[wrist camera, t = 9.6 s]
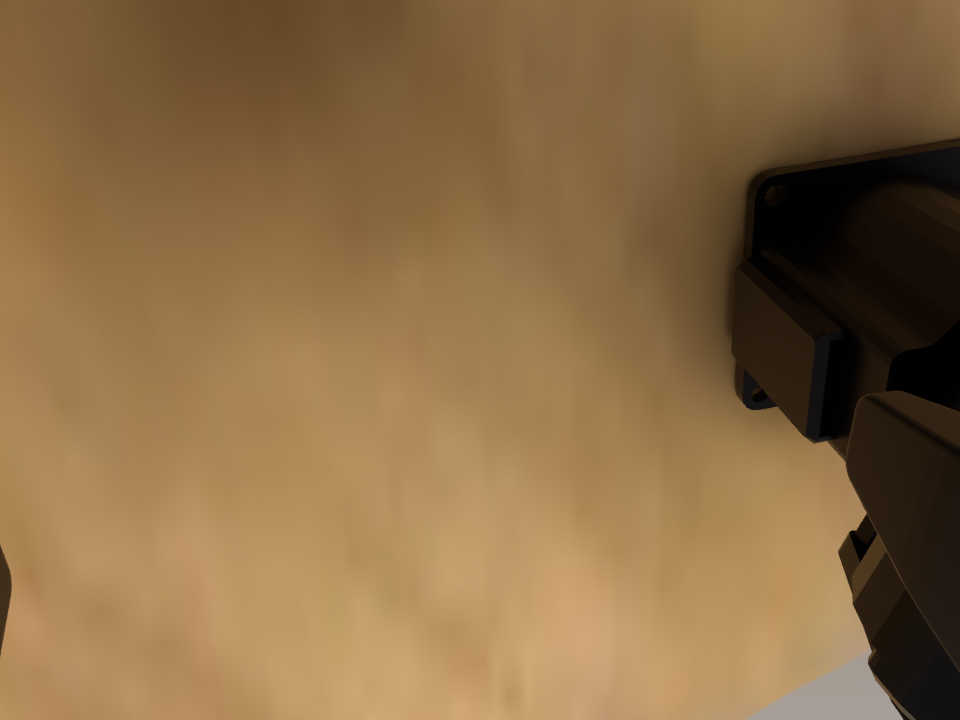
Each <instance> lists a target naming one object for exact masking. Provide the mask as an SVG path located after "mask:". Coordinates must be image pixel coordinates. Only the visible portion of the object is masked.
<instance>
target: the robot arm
mask: <svg viewBox="0 0 960 720" xmlns="http://www.w3.org/2000/svg"><path fill="white" fill-rule="evenodd" d="M775 185H778V190H777V193H776V195H775V196H774V197H773V198H771V199H769V200H765V195H766V192H767V191H768V190H769V189H770V188H771V187H772V186H775ZM731 351H732V354H733V356H734V357H735V358H736V359H737V360H738V363H737V380H736V393H737V396H738V397H739V399H740V400H741V401H742V402H743V404H744V405H745V406H746V407H747V408H749V409H751V410H761V409H767V408H772V407H777V406H778V407H779V409H780V410H781V411H782V412H783V413H784V414H785V416H786V417H787V418H788V419H789V420H790V421H791V422H792V424H793V425H794V426H795V427H796V428H797V429H798V430H799V432H800V433H801V434H802V435H803V436H804V437H806V438H807V439H808V440H810V441H811V442H812V443H814V444H815V443H820V442H825V441H827V442H828V443H829V444H830V445H831V446H832V447H833V448H834V449H835V451H836V452H837V453H838V454H839V455H840V456H841V457H842V458H843V459H844V461H845V462H846V468H847V473H848V476H849V479H850V481H851V483H852V485H853V487H854V489H855V491H856V493H857V495H858V497H859V499H860V501H861V503H862V505H863V507H864V509H865V510H866V512H867V514H866V516H865V517H864V519H863V521H862V522H861V524H860V525H859V527H858V529H857V530H856V531H850V532H849V534H848V535H847V537H846V539H845V540H844V542H843V544H842V545H841V547H840V549H839V550H838V554H839V557H840V559H841V562H842V565H843V568H844V571H845V574H846V577H847V580H848V583H849V586H850V589H851V592H852V595H853V606H854V608H855V610H856V612H857V614H858V616H859V618H860V621H861V623H862V625H863V627H864V630H865V633H866V636H867V639H868V641H869V644H870V647H871V650H872V653H871V655H870V656H869V658H868V665H869V667H870V669H871V671H872V673H873V676H874V678H875V680H876V681H877V682H878V684H879V685H880V686H881V687H882V688H883V690H884V691H885V692H886V693H887V694H888V696H889V697H890V699H891V702H892V703H893V705H894V706H895V708H896V709H897V710H898V712H899V713H900V715H901V716H902V718H903V720H960V140H955V141H949V142H943V143H936V144H930V145H923V146H917V147H910V148H904V149H898V150H891V151H885V152H878V153H872V154H865V155H859V156H853V157H846V158H840V159H833V160H827V161H820V162H814V163H808V164H801V165H795V166H788V167H782V168H775V169H769V170H766V171H763V172H761V173H760V174H759V175H757V176H756V177H755V178H754V179H753V181H752V182H751V184H750V186H749V190H748V196H747V213H746V229H745V246H744V258H743V259H742V260H741V262H740V263H739V265H738V266H737V268H736V277H735V295H734V313H733V331H732V349H731ZM759 386H760V387H761V388H762V389H761V390H760V391H759V392H758V393H756V394H752V392H753V390H754V389H755V388H757V387H759ZM11 590H12V582H11V574H10V570H9V567H8V564H7V561H6V559H5V556H4V554H3V551H2V548H1V546H0V655H1V649H2V643H3V638H4V632H5V626H6V621H7V615H8V609H9V604H10V598H11Z"/></svg>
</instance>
